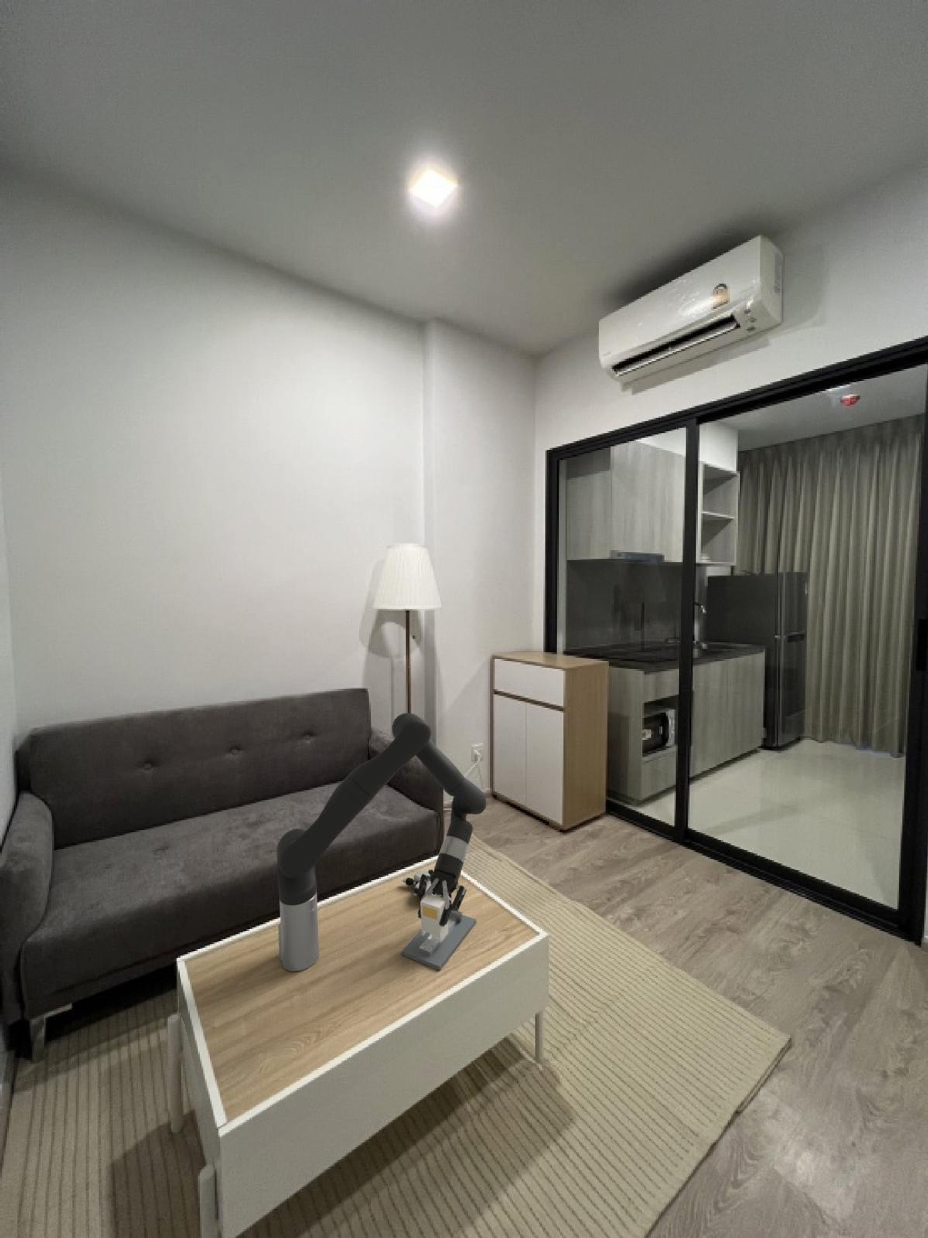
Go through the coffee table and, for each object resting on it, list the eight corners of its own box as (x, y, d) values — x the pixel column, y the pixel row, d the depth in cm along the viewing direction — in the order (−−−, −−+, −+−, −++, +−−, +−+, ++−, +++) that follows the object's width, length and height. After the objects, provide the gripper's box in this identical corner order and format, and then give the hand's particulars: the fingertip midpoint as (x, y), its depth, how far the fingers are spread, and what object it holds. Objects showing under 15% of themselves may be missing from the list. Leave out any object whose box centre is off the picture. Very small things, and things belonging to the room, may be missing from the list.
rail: (416, 950, 127) (416, 941, 127) (447, 914, 142) (446, 906, 141) (433, 956, 125) (432, 947, 125) (462, 920, 139) (462, 912, 139)
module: (421, 935, 130) (419, 902, 130) (429, 926, 134) (428, 893, 133) (440, 942, 127) (439, 908, 127) (448, 932, 131) (447, 899, 131)
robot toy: (400, 888, 158) (421, 910, 145) (399, 875, 158) (420, 894, 146) (433, 876, 165) (455, 896, 152) (432, 863, 165) (455, 881, 152)
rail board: (401, 954, 127) (401, 951, 127) (440, 910, 145) (440, 907, 145) (440, 970, 122) (440, 966, 122) (476, 922, 139) (476, 919, 139)
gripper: (425, 846, 140) (402, 910, 130) (469, 858, 133) (448, 926, 123) (435, 855, 145) (414, 918, 135) (478, 867, 138) (459, 933, 128)
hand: (431, 921), depth 129 cm, fingers closed on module, 6 cm apart
